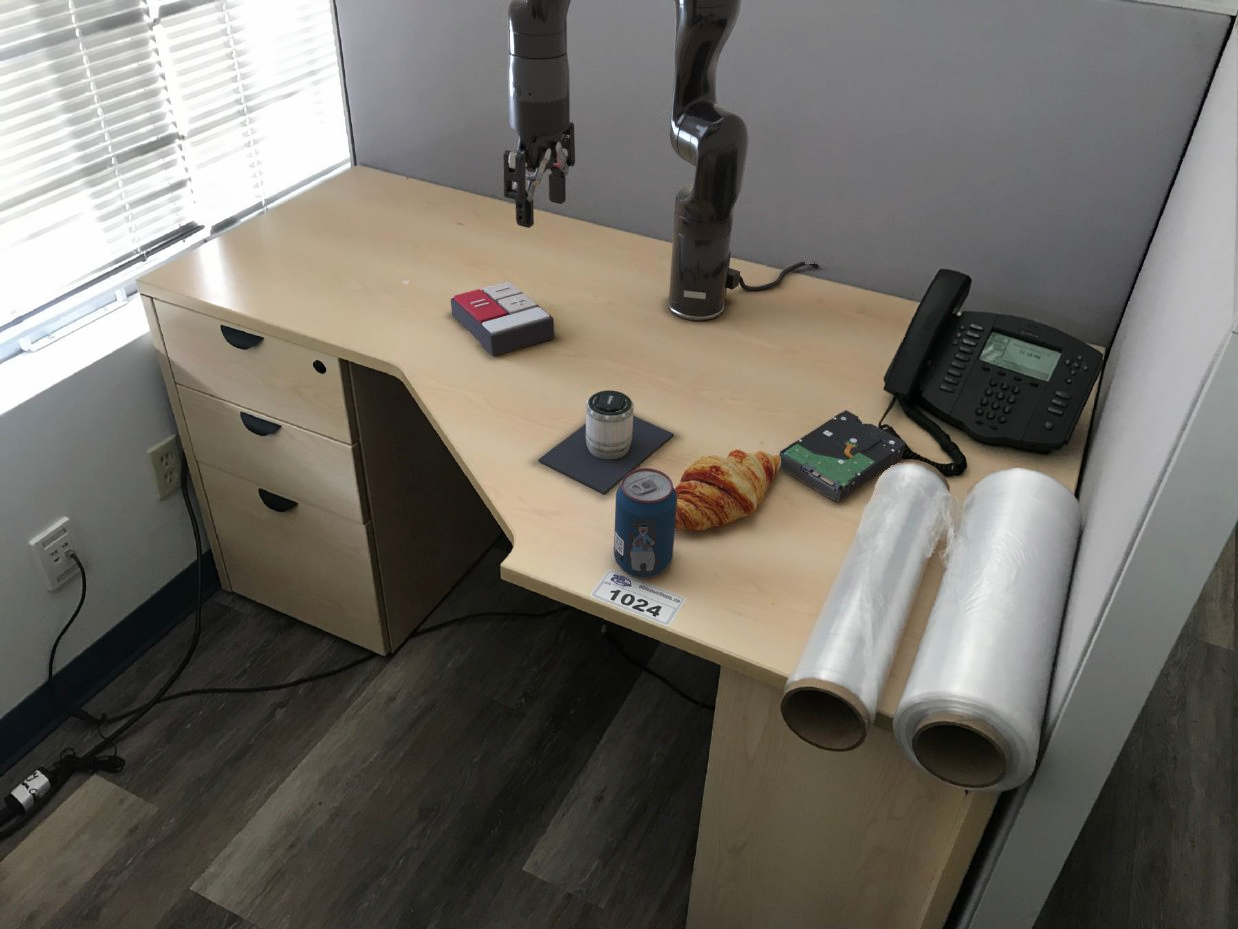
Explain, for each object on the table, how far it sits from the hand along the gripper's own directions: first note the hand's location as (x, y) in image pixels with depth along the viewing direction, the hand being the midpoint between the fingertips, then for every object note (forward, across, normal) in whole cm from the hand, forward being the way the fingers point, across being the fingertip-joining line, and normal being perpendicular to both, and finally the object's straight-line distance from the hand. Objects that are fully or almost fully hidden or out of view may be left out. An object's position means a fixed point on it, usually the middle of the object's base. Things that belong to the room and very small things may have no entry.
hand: (541, 213), depth 131 cm
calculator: (+26, +10, +13) cm, 31 cm away
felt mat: (+26, -11, -16) cm, 32 cm away
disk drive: (+26, +1, -45) cm, 52 cm away
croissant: (+26, -14, -34) cm, 45 cm away
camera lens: (+26, -11, -16) cm, 32 cm away
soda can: (+26, -29, -30) cm, 49 cm away
